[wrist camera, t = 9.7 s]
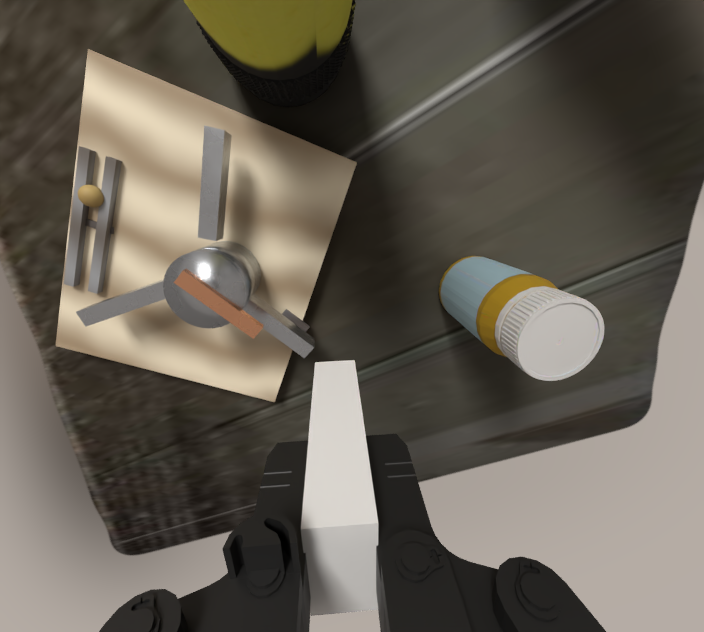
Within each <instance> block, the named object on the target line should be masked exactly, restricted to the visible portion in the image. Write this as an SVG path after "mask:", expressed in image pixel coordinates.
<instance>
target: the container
mask: <svg viewBox="0 0 704 632" xmlns="http://www.w3.org/2000/svg"><path fill="white" fill-rule="evenodd" d="M184 2H185V3H186V5H187V6H188V8H189V9H190V11H191V12H192V14H193V15H194V16H195V18H196V19H197V25H198V26H200V29H201V30H202V34H203V35H204V36H205V39H207V42H208V44H210V47H211V48H213V51H214V52H215V53H216V55H217V56H218V58H219V59H220V61H222V63H223V64H224V66H225V67H226V68H227V69H228V71H229V72H230V74H232V75H234V78H235V79H236V80H238V81H240V83H241V84H242V86H244V87H246V88H247V89H248V90H249V91H251V92H252V93H253V94H254V95H256V96H257V97H258V98H259V99H261V100H264V101H266V102H269V103H271V104H274V105H279V106H285V107H291V106H299V105H304V104H306V103H308V102H310V101H312V100H315V99H316V98H318V97H319V96H320V95H321V94H323V93H324V92H325V91H326V90H327V88H328V87H329V86H330V84H331V83H332V82H333V80H334V79H335V78H336V76H337V73H338V70H339V68H340V67H341V64H342V60H343V59H345V53H346V52H347V48H348V44H349V40H350V36H351V29H352V24H353V19H354V18H353V16H354V10H355V5H356V3H355V0H184Z"/></svg>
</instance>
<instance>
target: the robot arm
mask: <svg viewBox="0 0 704 632" xmlns="http://www.w3.org/2000/svg"><path fill="white" fill-rule="evenodd" d="M223 553H224V557H225V561H226V565H227V569H228V573H227V574H226V575H225V576H224V577H222V578H221V579H220V580H218V581H216V582H215V583H213V584H211V585H209V586H207V587H205V588H203V589H200V590H198V591H196V592H193V593H191V594H189V595H186V596H184V597H182V598H179V599H177V597H176V595H175V594H173V593H171V592H169V591H167V590H166V589H159V590H150V591H147V592H145V593H142V594H140V595H137V596H135V597H134V598H132V599H131V600H130V601H128V602H127V603H126V604H124V605H123V606H121V607H120V608H119V609H118V610H117V611H116V612H115V613H114V614H113V615H112V617H111V618H110V619H109V620H108V621H107V622H106V623H105V625H104V626H103V627H102V628H101V630H100V631H99V632H309V623H310V614H311V616H312V615H323V614H334V613H346V612H357V611H368V610H377V609H378V610H379V620H380V628H381V632H606V631H605V630H604V629H603V627H602V626H601V625H600V624H599V622H598V621H597V620H596V619H595V618H594V616H593V615H592V614H591V613H590V612H589V610H588V609H587V608H586V607H585V605H584V604H583V603H582V602H581V601H580V599H579V598H578V597H577V596H576V595H575V593H574V592H573V591H572V590H571V589H570V588H569V586H568V585H567V584H566V583H565V582H564V581H563V580H562V579H561V578H560V577H559V576H558V575H557V574H556V573H555V572H554V571H553V570H552V569H550V568H548V567H547V566H545V565H543V564H542V563H540V562H538V561H536V560H532V559H528V558H525V557H516V558H509V559H508V560H507V561H505V562H504V563H503V564H501V565H500V567H499V569H494V568H491V567H487V566H483V565H479V564H476V563H472V562H468V561H466V560H464V559H461V558H459V557H457V556H455V555H454V554H452V553H451V552H449V551H448V550H447V549H446V548H445V547H444V546H443V545H442V544H441V543H440V542H439V540H438V539H437V537H436V536H435V534H434V531H433V529H432V527H431V524H430V520H429V517H428V514H427V511H426V507H425V504H424V501H423V498H422V494H421V491H420V487H419V484H418V481H417V477H416V476H415V471H414V467H413V464H412V461H411V457H410V454H409V451H408V448H407V445H406V444H405V443H404V442H403V441H402V440H401V439H400V437H399V436H398V435H397V434H388V435H372V436H366V435H365V428H364V421H363V414H362V407H361V400H360V394H359V387H358V380H357V373H356V366H355V360H349V361H330V362H315V369H314V380H313V392H312V404H311V415H310V427H309V438H308V441H297V442H282V443H277V445H276V446H275V447H274V449H273V450H272V451H271V453H270V454H269V455H268V457H267V461H266V465H265V470H264V475H263V478H262V483H261V489H260V491H259V495H258V500H257V504H256V508H255V513H254V516H252V517H250V518H248V519H247V520H245V521H243V522H242V523H240V524H239V525H238V526H237V527H236V528H235V529H234V531H233V532H232V533H231V534H230V535H229V537H228V539H227V541H226V543H225V545H224V547H223Z"/></svg>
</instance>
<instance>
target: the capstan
mask: <svg viewBox="0 0 704 632" xmlns="http://www.w3.org/2000/svg"><path fill="white" fill-rule="evenodd" d="M231 137H232V135H231V134H229V133H228V132H226V131H225V130H222V129H218V128H213V127H209V126H205V125H204V139H203V156H202V173H201V191H200V208H199V226H198V238H202V239H207V240H213V241H218V240H220V239H223V235H224V223H225V211H226V198H227V186H228V174H229V161H230V149H231ZM260 281H261V270H260V266H259V263H258V261H257V259H256V257H255V256H254V255H253V254H252V252H251V251H250V250H248V249H247V248H246V247H244V246H243V245H241V244H238V243H236V242H232V241H219V242H215V243H212V244H210V245H207V246H205V247H202V248H200V249H197V250H195V251H192V252H190V253H187V254H185V255H182V256H180V257H179V258H177V259H176V260H175V261H173V262H172V264H171V265H170V266H169V267H168V269H167V271H166V273H165V276H164V279H163V280H160V281H157V282H155V283H152V284H149V285H146V286H143V287H140V288H138V289H135V290H132V291H129V292H126V293H123V294H120V295H118V296H115V297H112V298H109V299H106V300H103V301H100V302H98V303H95V304H92V305H90V306H87V307H85V308H83V309H81V310H79V311H76V313H77V315H78V316H79V318H80V319H81V321H82V322H83V324H84V325H85V327H86V326H89V325H92V324H95V323H98V322H101V321H104V320H107V319H109V318H112V317H115V316H118V315H121V314H124V313H127V312H129V311H132V310H135V309H138V308H141V307H144V306H147V305H149V304H152V303H155V302H158V301H161V300H164V299H166V301H167V303H168V305H169V306H170V308H171V309H172V311H173V312H174V313H175V314H176V315H177V316H178V317H179V318H181V319H182V320H183V321H185V322H187V323H189V324H191V325H193V326H196V327H200V328H218V327H222V326H225V325H227V324H229V323H231V324H233V325H234V326H236V327H237V328H239V329H240V330H241V331H243V332H244V333H246V334H247V335H248V336H250V337H251V338H253V339H254V338H255V337H256V336H257V334H258V333H259V332H260V331H261V330H262V328H263V329H265V330H266V331H267V332H269V333H270V334H272V335H273V336H274V337H276V338H277V339H278V340H280V341H281V342H283V343H284V344H285V345H287V346H288V347H289V348H291V349H292V350H294V351H295V352H296V353H298V354H299V355H300V356H302V357H303V358H305V357H306V356H307V355H308V354H309V353H310V352H311V351H312V350H313V348H314V341H315V339H314V338H313V337H311V336H310V335H309V334H307V333H306V332H305V331H303V330H302V329H301V328H299V327H298V326H297V325H295V324H294V323H293V322H292V321H290V320H289V319H288V318H286V317H285V316H284V315H282V314H281V313H280V312H278V311H277V310H276V309H274V308H273V307H272V306H270V305H269V304H268V303H266V302H265V301H264V300H262V299H261V298H260V297H258V296H257V295H256V294H254V293H255V292H256V290H257V289H258V287H259V284H260Z"/></svg>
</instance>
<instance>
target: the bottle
mask: <svg viewBox="0 0 704 632" xmlns="http://www.w3.org/2000/svg"><path fill="white" fill-rule="evenodd" d="M439 297H440V301H441V303H442V305H443V307H444V309H445V310H446V311H447V312H448V313H449V314H450V315H452V316H453V317H454V318H455V319H456V320H457V321H458V322H460V323H461V324H462V325H463V326H464V327H465V328H466V329H467V330H469V331H470V332H471V333H472V334H473V335H474V336H475V337H476V338H478V339H479V340H480V341H481V342H482V343H483V344H484V345H486V346H487V347H488V348H489V349H490V350H492V351H493V352H494V353H496V354H499V355H502V356H504V357H508V358H509V359H510V360H511V361H512V362H513V363H514V364H516V365H517V366H518V367H519V368H520V369H522V370H523V371H524V372H525V373H527V374H528V375H530V376H532V377H534V378H537V379H540V380H544V381H555V380H561V379H564V378H567V377H570V376H572V375H574V374H576V373H577V372H579V371H580V370H582V369H583V368H584V367H585V366H587V365H588V364H589V363H590V362H591V360H592V359H593V358H594V357H595V355H596V354H597V352H598V350H599V348H600V346H601V344H602V341H603V337H604V322H603V318H602V316H601V314H600V312H599V311H598V309H597V308H596V307H595V306H594V305H592V304H591V303H590V302H588V301H587V300H585V299H582V298H580V297H577V296H574V295H572V294H569V293H566V292H564V291H560V290H558V289H557V288H556V287H555V286H554V285H553V284H552V283H551V282H550V281H548V280H546V279H544V278H541V277H539V276H537V275H534V274H531V273H528V272H525V271H522V270H520V269H517V268H514V267H511V266H508V265H505V264H502V263H499V262H497V261H494V260H491V259H488V258H485V257H481V256H469V257H465V258H462V259H460V260H458V261H457V262H455V263H453V264H452V265H451V266H450V267H449V268H448V269H447V270H446V272H445V273H444V275H443V277H442V279H441V282H440V286H439Z"/></svg>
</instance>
